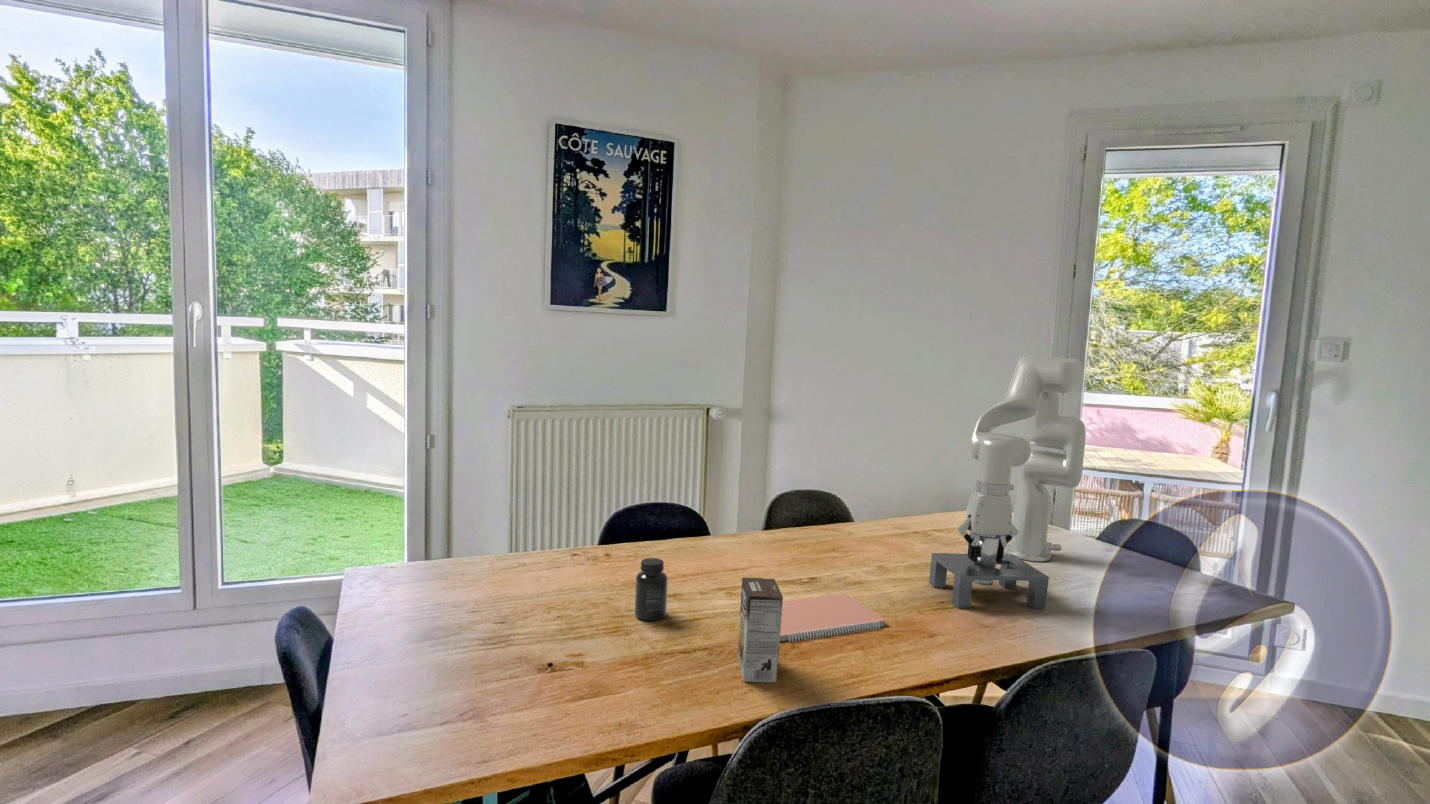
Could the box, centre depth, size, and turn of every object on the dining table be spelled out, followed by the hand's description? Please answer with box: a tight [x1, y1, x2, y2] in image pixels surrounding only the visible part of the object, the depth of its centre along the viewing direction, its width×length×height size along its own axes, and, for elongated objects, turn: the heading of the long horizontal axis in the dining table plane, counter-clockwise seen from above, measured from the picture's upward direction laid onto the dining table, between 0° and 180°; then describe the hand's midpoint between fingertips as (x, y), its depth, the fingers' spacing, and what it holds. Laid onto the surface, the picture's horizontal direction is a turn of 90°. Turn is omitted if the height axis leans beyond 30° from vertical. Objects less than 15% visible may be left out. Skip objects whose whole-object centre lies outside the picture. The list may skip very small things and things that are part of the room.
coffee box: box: [737, 577, 784, 683], centre depth 129 cm, size 9×6×16 cm
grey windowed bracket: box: [928, 552, 1050, 610], centre depth 173 cm, size 22×16×8 cm
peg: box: [972, 535, 1000, 587], centre depth 173 cm, size 5×5×12 cm
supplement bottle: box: [634, 557, 668, 622], centre depth 150 cm, size 7×7×12 cm
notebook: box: [780, 593, 887, 643], centre depth 154 cm, size 27×17×2 cm, turn 114°
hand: (984, 559), depth 173 cm, fingers open, 5 cm apart
